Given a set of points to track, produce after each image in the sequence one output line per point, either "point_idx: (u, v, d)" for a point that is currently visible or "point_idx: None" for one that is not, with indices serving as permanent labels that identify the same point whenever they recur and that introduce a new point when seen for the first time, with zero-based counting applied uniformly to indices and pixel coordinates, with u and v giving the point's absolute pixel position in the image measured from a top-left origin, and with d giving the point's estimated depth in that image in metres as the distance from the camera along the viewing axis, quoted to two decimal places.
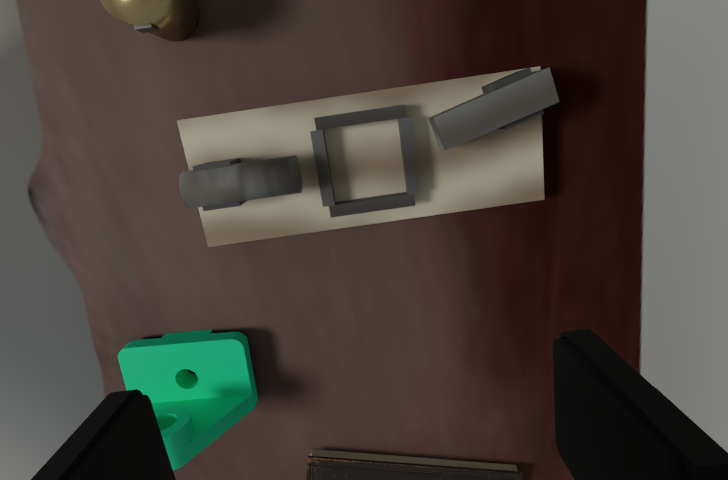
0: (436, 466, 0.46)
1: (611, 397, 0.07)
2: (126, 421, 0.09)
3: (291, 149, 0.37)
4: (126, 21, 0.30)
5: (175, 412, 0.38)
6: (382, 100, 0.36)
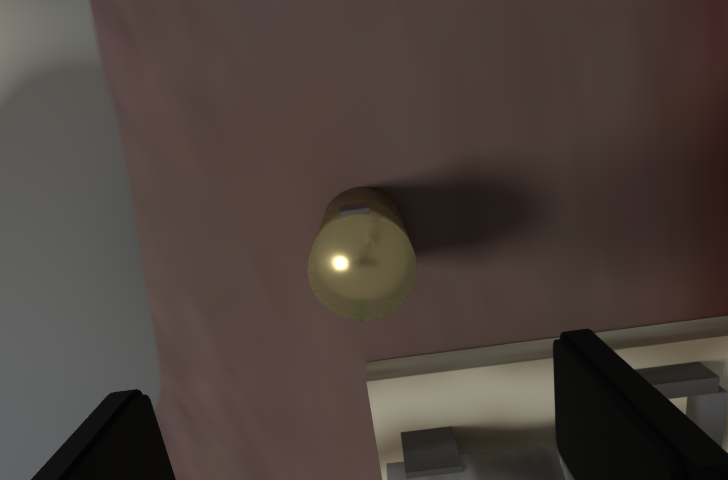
0: None
1: (611, 397, 0.07)
2: (126, 421, 0.09)
3: (527, 416, 0.26)
4: (350, 317, 0.18)
5: None
6: (670, 355, 0.24)
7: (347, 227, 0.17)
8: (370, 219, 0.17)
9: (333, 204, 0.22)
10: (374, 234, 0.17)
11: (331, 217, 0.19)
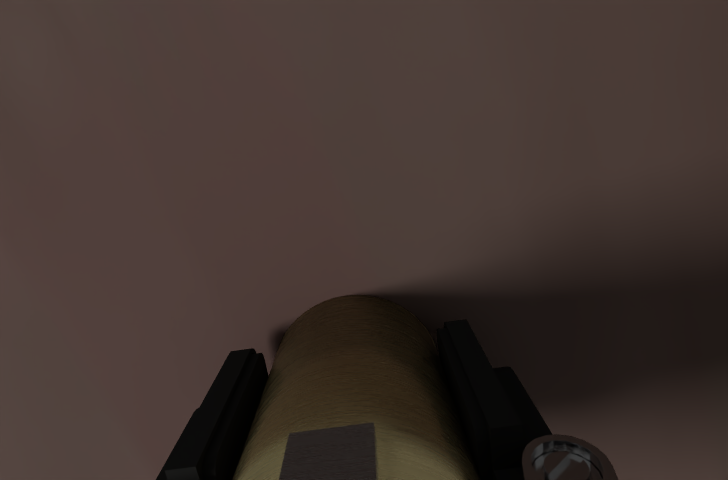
0: None
1: (456, 376, 0.08)
2: (254, 373, 0.10)
3: None
4: None
5: None
6: None
7: None
8: None
9: (289, 353, 0.09)
10: None
11: (264, 460, 0.06)
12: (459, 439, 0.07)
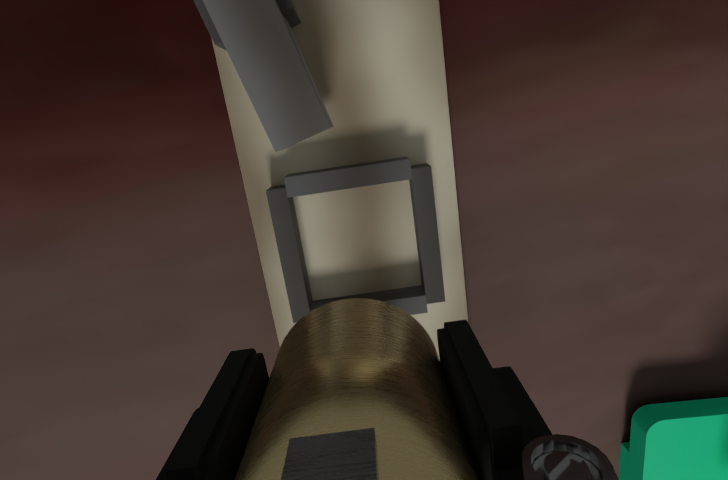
0: None
1: (456, 376, 0.08)
2: (253, 373, 0.10)
3: None
4: None
5: None
6: (266, 217, 0.23)
7: None
8: None
9: (290, 357, 0.09)
10: None
11: (264, 465, 0.06)
12: (460, 444, 0.07)
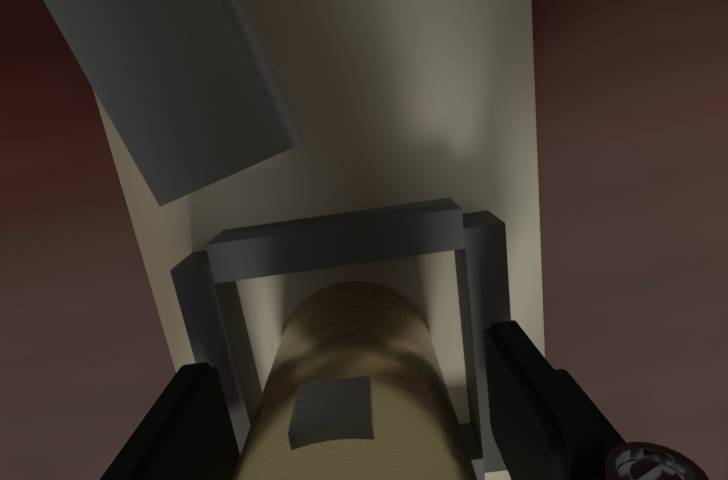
0: None
1: (517, 379, 0.08)
2: (203, 389, 0.09)
3: None
4: None
5: None
6: None
7: None
8: (376, 475, 0.06)
9: (296, 329, 0.11)
10: None
11: (277, 409, 0.08)
12: (443, 397, 0.09)
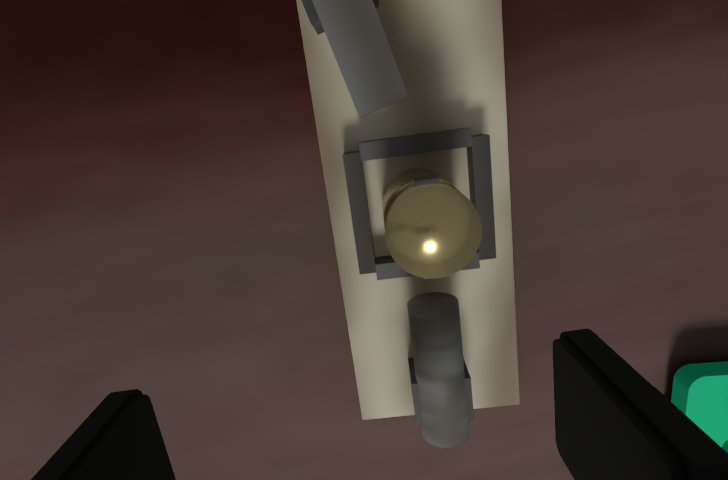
0: None
1: (611, 397, 0.07)
2: (126, 421, 0.09)
3: (399, 298, 0.28)
4: (420, 275, 0.21)
5: None
6: (338, 180, 0.26)
7: (422, 194, 0.20)
8: (442, 187, 0.19)
9: (397, 181, 0.25)
10: (445, 200, 0.20)
11: (402, 188, 0.21)
12: None
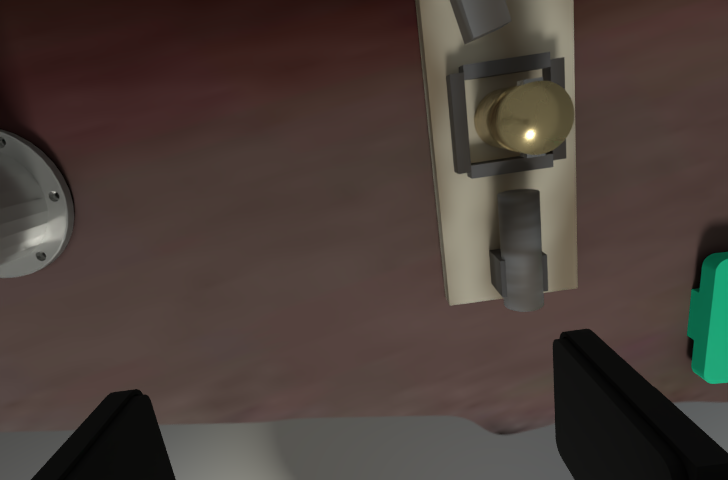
0: None
1: (611, 397, 0.07)
2: (126, 421, 0.09)
3: (484, 198, 0.35)
4: (527, 152, 0.28)
5: None
6: (439, 99, 0.33)
7: (532, 87, 0.26)
8: (547, 82, 0.26)
9: (492, 94, 0.31)
10: (548, 92, 0.27)
11: (509, 90, 0.28)
12: None
